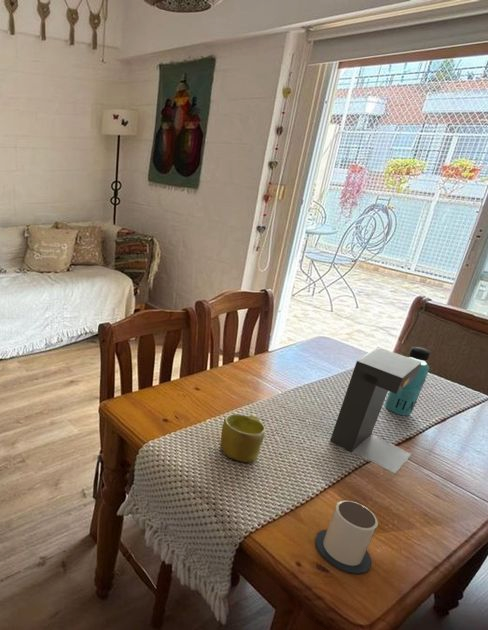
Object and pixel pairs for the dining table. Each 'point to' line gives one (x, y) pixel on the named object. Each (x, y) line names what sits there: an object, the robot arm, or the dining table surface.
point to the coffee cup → (350, 532)
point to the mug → (242, 437)
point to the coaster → (356, 569)
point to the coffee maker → (373, 406)
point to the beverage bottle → (410, 386)
